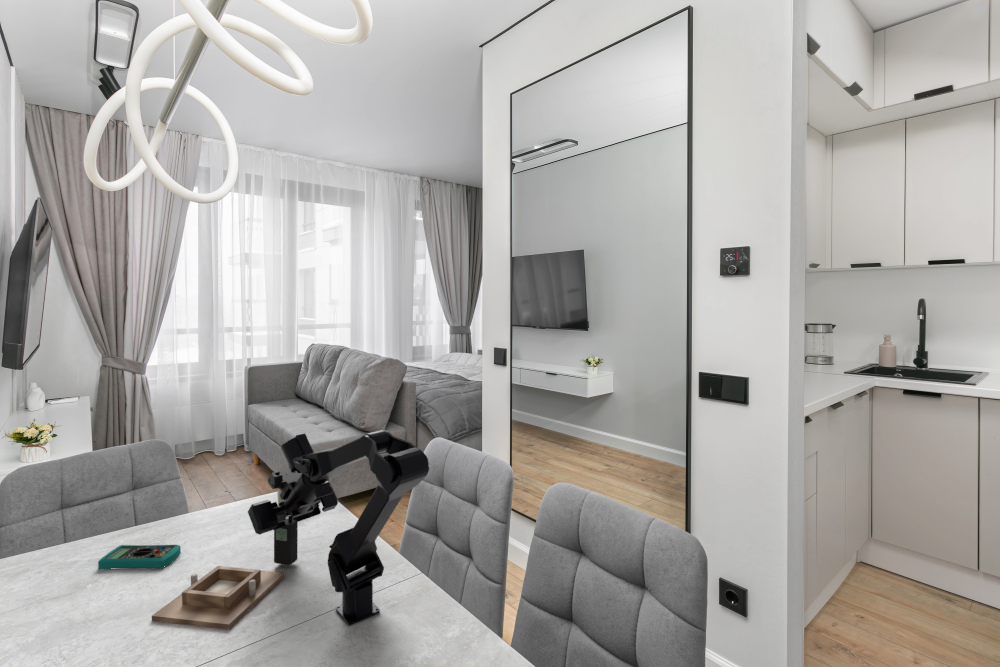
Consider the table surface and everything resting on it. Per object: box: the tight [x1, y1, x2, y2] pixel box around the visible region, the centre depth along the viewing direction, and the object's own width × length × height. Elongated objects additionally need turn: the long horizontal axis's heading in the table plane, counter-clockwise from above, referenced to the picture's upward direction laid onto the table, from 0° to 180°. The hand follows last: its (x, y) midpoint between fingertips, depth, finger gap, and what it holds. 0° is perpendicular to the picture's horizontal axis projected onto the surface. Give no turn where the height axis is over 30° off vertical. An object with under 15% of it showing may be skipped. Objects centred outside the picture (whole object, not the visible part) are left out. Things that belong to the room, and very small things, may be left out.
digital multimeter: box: [97, 544, 181, 570], centre depth 115 cm, size 7×15×3 cm, turn 94°
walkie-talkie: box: [273, 516, 299, 566], centre depth 114 cm, size 5×3×15 cm
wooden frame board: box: [151, 565, 286, 631], centre depth 101 cm, size 16×18×4 cm
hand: (282, 524), depth 115 cm, fingers closed on walkie-talkie, 4 cm apart
